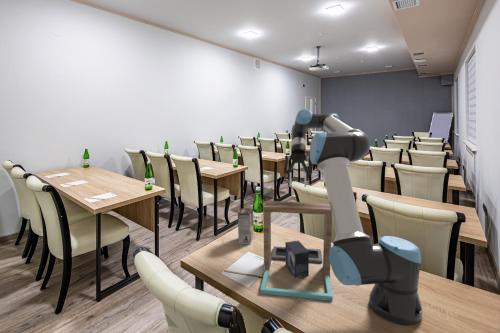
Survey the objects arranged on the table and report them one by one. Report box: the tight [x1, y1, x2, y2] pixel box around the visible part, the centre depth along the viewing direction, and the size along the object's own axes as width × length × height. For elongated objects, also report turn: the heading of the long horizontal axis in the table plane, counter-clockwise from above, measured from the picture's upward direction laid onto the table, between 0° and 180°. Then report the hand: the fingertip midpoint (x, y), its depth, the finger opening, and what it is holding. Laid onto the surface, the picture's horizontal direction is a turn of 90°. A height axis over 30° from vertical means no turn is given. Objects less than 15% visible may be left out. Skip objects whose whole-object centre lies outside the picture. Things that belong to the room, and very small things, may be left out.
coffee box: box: [237, 207, 255, 245], centre depth 137 cm, size 9×6×16 cm
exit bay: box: [259, 270, 334, 302], centre depth 100 cm, size 13×25×2 cm, turn 79°
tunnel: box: [262, 200, 333, 279], centre depth 108 cm, size 8×26×28 cm, turn 79°
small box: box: [285, 240, 310, 279], centre depth 110 cm, size 11×6×10 cm, turn 14°
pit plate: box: [271, 246, 323, 264], centre depth 122 cm, size 10×22×1 cm, turn 79°
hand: (297, 185), depth 128 cm, fingers open, 6 cm apart
